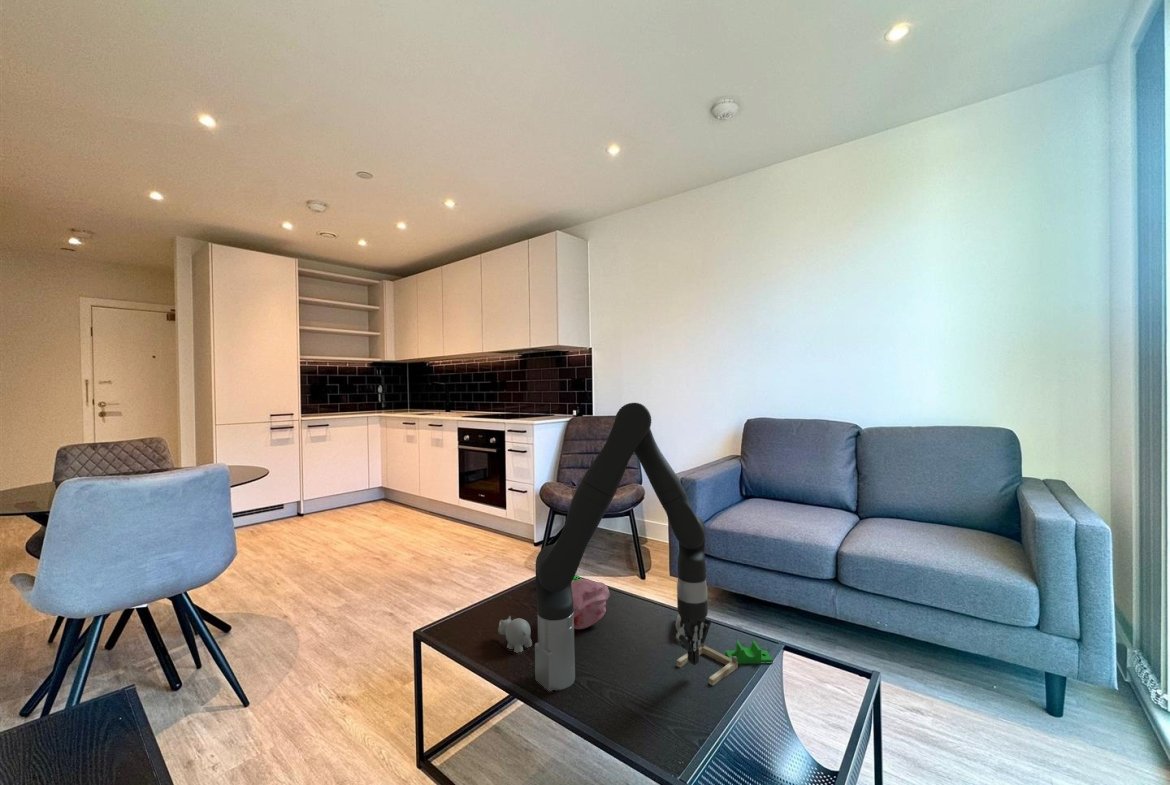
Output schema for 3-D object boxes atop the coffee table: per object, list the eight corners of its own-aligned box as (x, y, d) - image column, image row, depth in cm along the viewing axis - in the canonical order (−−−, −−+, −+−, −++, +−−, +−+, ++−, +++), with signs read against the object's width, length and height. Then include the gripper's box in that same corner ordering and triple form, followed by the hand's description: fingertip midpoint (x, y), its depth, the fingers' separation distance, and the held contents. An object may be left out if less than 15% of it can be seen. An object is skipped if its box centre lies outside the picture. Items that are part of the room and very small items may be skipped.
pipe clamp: (765, 640, 125) (772, 649, 120) (766, 654, 125) (772, 663, 120) (725, 641, 125) (730, 650, 120) (725, 654, 125) (730, 664, 120)
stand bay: (713, 688, 111) (712, 675, 111) (676, 667, 120) (676, 655, 120) (737, 669, 118) (737, 657, 118) (701, 651, 127) (701, 639, 127)
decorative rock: (581, 647, 130) (580, 595, 130) (544, 632, 138) (543, 583, 138) (616, 619, 145) (615, 573, 145) (580, 607, 153) (579, 563, 153)
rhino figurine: (510, 633, 138) (509, 606, 138) (536, 648, 130) (535, 619, 130) (490, 644, 132) (490, 615, 132) (516, 659, 124) (516, 629, 124)
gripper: (688, 608, 108) (689, 681, 108) (719, 592, 116) (721, 658, 116) (663, 598, 113) (665, 666, 113) (695, 582, 122) (697, 646, 122)
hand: (693, 662), depth 115 cm, fingers closed
